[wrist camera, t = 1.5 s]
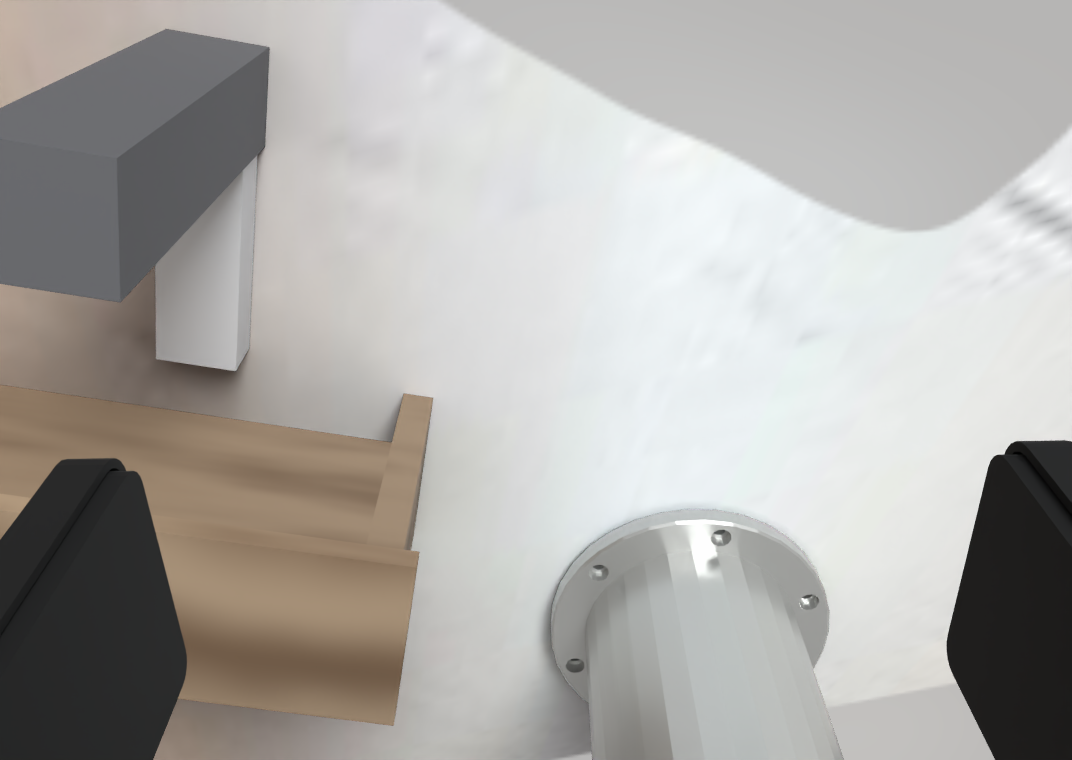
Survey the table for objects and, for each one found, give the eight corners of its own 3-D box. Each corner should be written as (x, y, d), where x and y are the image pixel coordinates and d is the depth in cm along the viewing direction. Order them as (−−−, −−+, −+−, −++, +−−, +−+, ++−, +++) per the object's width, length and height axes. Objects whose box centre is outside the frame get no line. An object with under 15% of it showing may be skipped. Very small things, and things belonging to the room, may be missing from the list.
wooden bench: (424, 535, 44) (393, 725, 34) (-164, 453, 42) (-369, 630, 32) (445, 400, 41) (416, 567, 31) (-192, 303, 39) (-430, 451, 29)
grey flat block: (255, 348, 40) (127, 574, 27) (166, 335, 39) (-4, 556, 27) (269, 47, 34) (116, 158, 22) (166, 29, 34) (-48, 130, 22)
